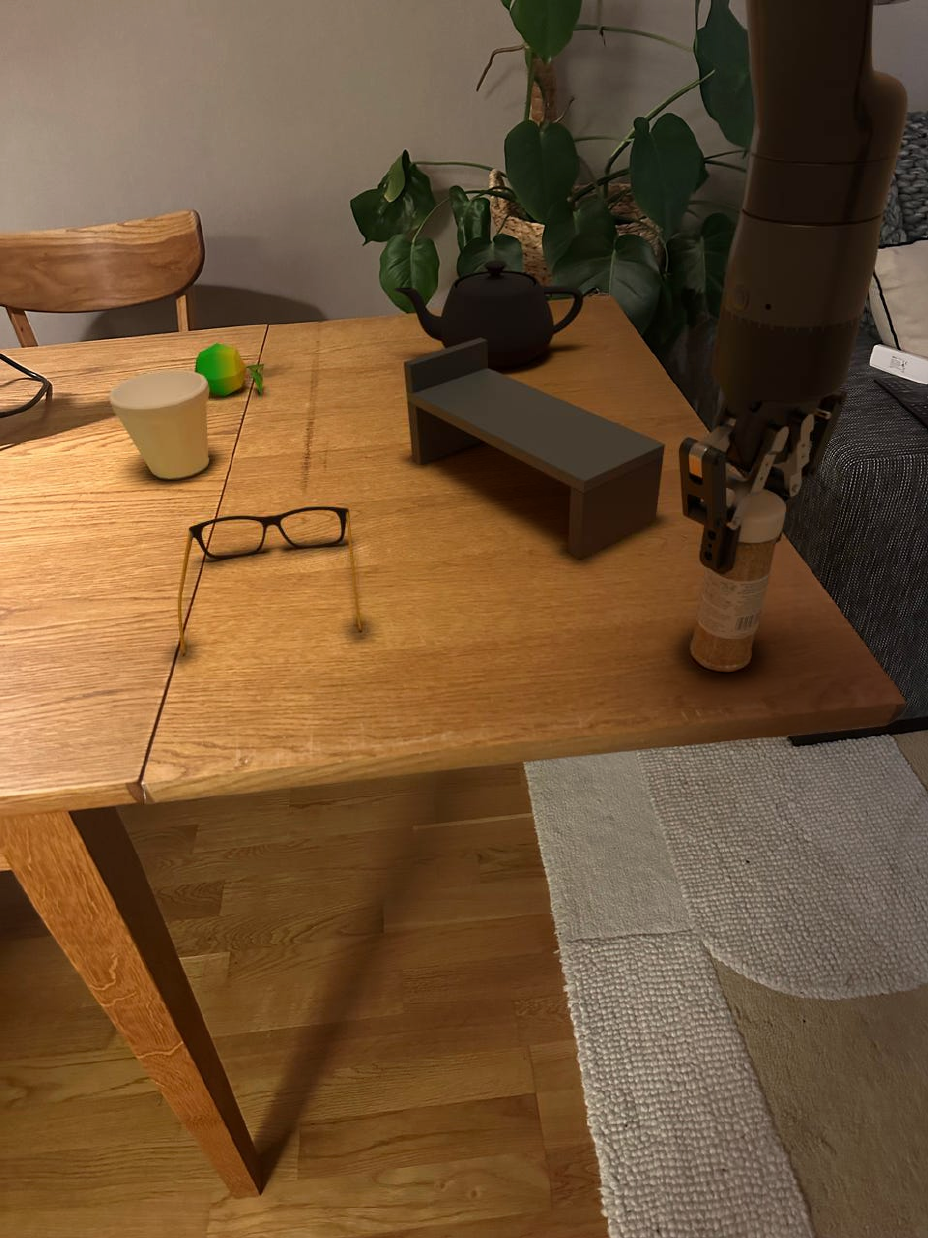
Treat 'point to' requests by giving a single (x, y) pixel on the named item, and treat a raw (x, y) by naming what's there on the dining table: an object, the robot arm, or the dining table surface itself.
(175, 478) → the cup
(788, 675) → the dining table surface
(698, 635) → the sprinkles bottle
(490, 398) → the shelf
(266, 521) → the eyeglasses
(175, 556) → the dining table surface
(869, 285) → the robot arm
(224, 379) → the apple
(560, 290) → the teapot
